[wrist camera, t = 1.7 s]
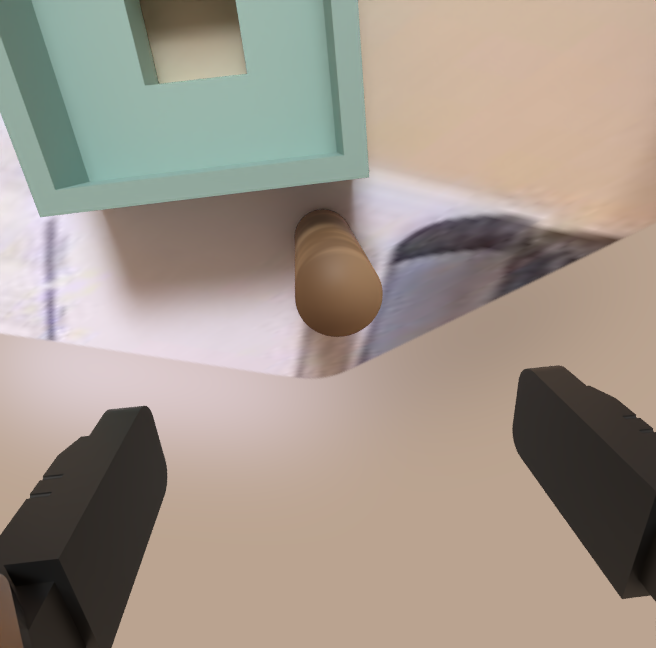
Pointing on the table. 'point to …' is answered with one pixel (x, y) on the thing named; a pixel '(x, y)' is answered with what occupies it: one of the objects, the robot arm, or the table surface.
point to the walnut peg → (333, 276)
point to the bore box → (178, 105)
